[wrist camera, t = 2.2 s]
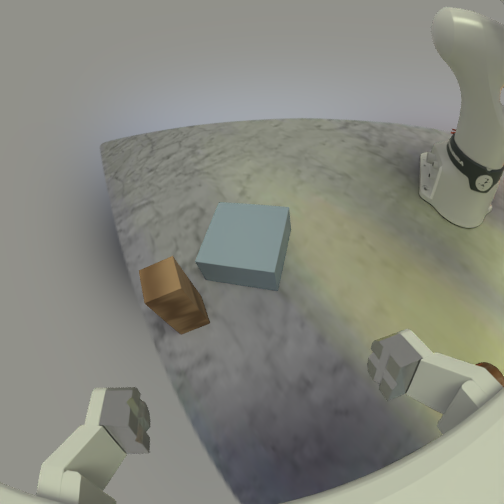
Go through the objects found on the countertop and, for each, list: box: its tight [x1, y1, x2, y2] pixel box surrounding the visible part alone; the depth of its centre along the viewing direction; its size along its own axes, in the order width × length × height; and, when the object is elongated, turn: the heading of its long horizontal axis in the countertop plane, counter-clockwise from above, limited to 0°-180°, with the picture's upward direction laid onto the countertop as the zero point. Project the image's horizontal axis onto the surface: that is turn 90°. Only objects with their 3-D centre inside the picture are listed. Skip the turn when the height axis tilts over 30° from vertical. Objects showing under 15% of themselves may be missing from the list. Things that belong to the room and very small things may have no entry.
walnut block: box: [139, 256, 210, 334], centre depth 39 cm, size 5×5×12 cm
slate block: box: [195, 202, 291, 291], centre depth 46 cm, size 12×12×6 cm
